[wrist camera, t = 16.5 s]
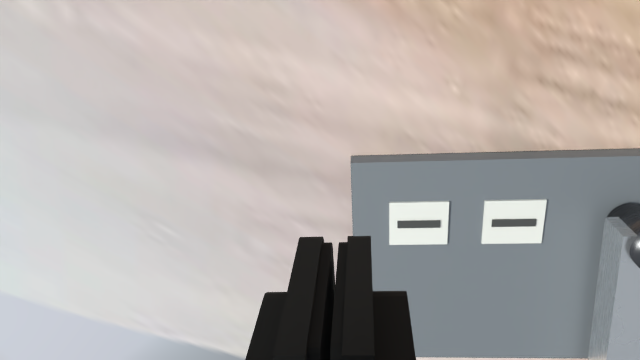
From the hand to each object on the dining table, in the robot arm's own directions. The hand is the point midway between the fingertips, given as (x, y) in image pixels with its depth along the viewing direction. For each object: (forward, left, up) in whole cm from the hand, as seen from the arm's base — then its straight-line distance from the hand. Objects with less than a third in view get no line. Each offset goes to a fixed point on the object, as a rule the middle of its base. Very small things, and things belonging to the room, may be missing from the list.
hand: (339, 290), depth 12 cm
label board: (-11, +16, -27) cm, 33 cm away
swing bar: (-20, +21, -25) cm, 38 cm away
